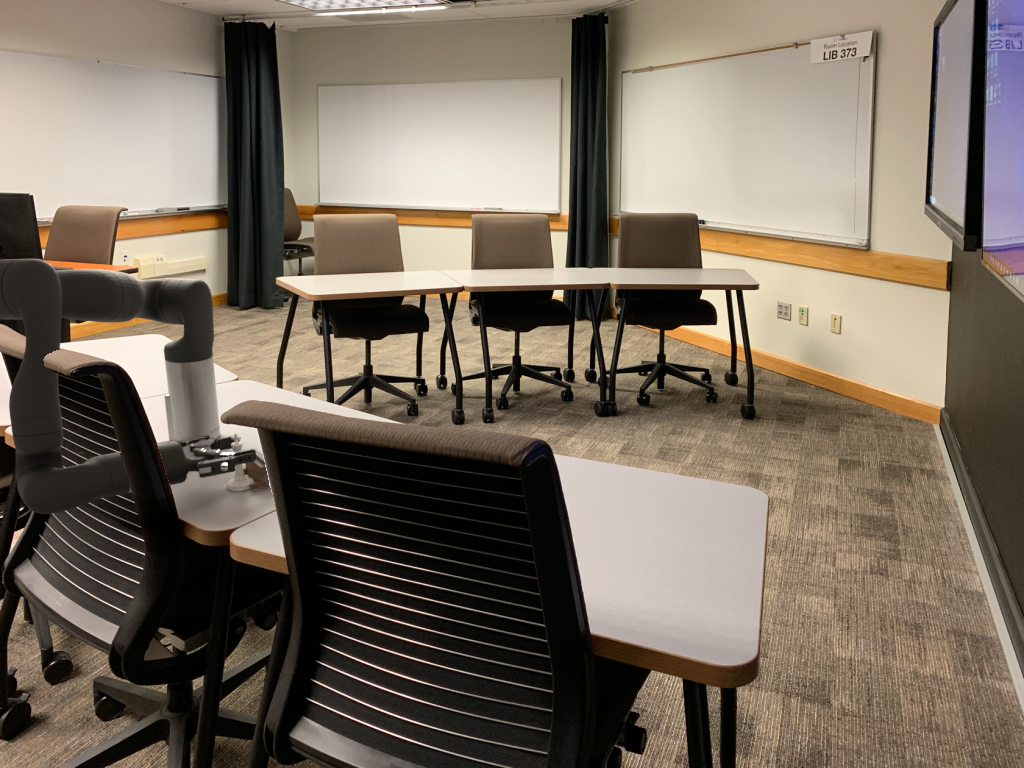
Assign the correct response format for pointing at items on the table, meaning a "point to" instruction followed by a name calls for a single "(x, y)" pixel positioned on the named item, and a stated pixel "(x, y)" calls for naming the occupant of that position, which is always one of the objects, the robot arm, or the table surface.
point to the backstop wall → (261, 459)
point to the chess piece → (238, 470)
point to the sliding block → (256, 474)
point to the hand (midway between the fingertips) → (246, 447)
